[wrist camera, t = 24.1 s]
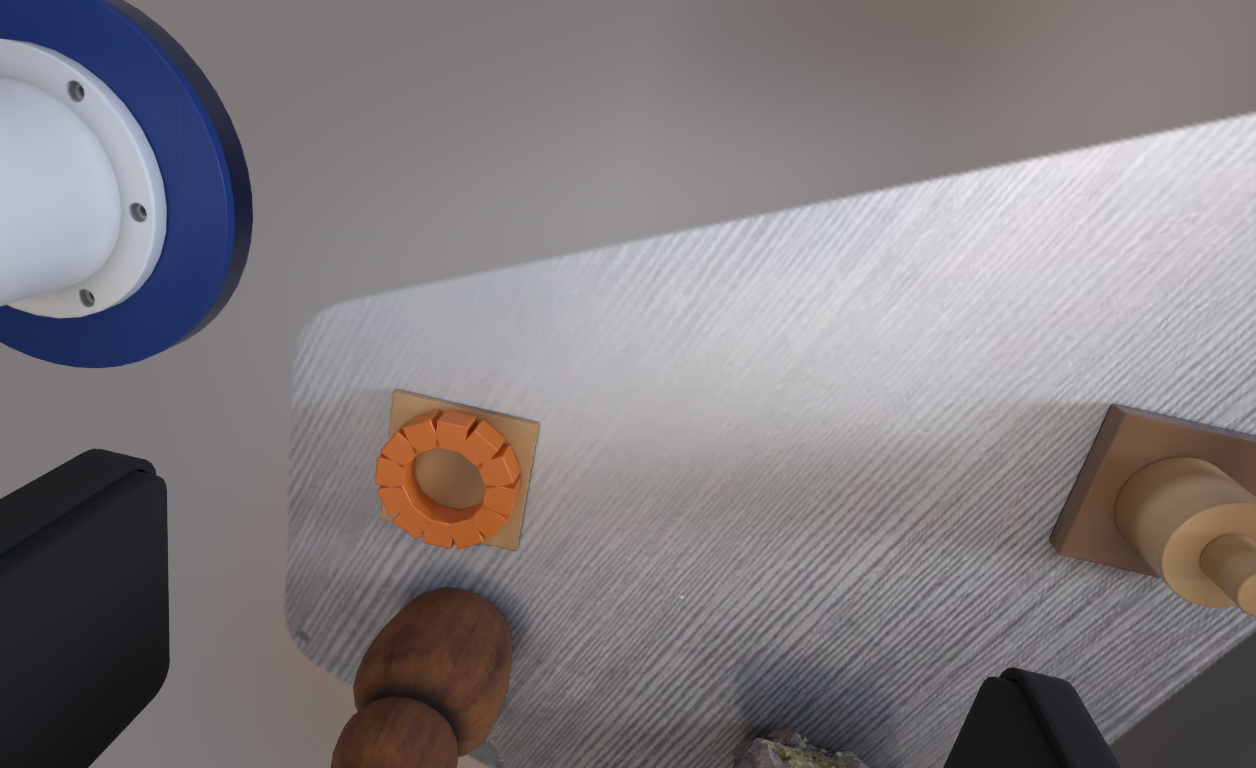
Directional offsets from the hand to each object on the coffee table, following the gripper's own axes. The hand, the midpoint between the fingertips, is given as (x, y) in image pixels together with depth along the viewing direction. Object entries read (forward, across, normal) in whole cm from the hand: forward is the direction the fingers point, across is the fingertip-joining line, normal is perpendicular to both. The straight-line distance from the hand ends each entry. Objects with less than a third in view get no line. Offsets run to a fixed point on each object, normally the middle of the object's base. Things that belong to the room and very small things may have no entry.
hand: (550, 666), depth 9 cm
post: (+26, -23, +6) cm, 35 cm away
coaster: (+26, +8, +13) cm, 30 cm away
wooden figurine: (+26, +7, +22) cm, 35 cm away
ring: (+26, +8, +13) cm, 30 cm away
